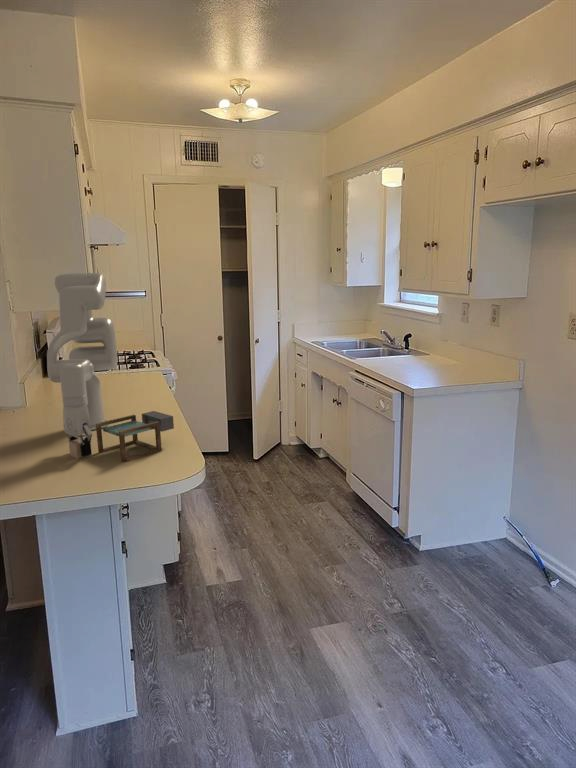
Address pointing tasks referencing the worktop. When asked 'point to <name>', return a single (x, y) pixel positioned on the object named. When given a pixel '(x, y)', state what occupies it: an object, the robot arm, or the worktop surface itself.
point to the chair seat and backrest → (143, 423)
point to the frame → (135, 440)
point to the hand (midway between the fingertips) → (80, 452)
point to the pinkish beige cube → (76, 448)
